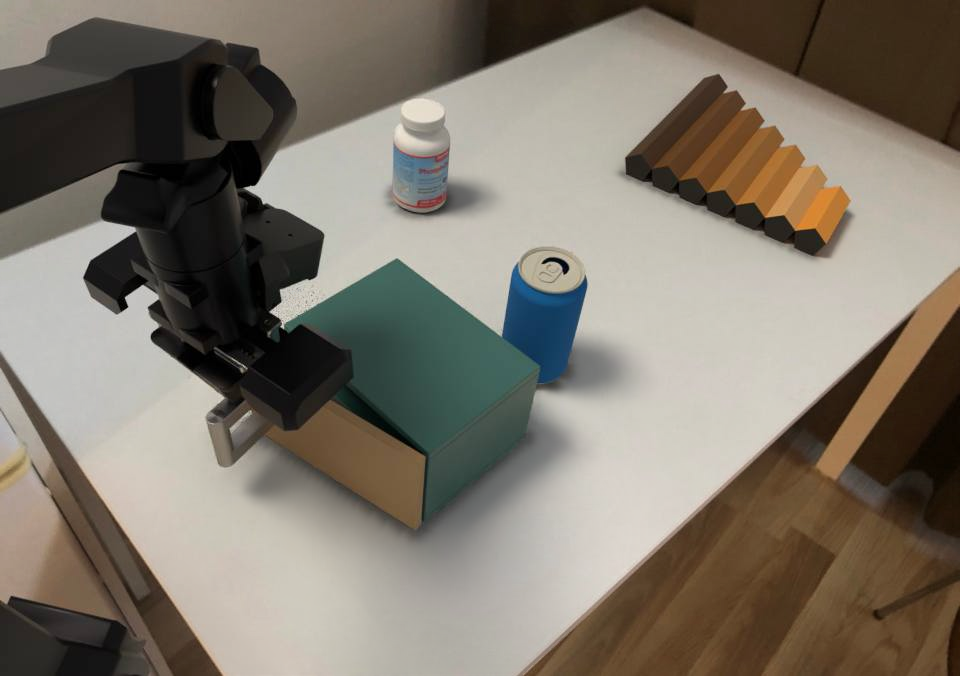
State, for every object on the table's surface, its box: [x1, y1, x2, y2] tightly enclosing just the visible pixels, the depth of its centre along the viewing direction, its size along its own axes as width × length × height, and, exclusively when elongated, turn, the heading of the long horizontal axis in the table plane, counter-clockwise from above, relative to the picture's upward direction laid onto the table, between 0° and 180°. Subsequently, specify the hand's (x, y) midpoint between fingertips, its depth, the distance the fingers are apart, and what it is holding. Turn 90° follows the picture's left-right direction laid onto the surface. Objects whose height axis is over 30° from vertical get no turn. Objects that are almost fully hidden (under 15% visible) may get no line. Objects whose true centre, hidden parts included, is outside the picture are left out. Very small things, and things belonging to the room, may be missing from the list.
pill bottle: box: [392, 98, 451, 214], centre depth 86 cm, size 6×6×11 cm
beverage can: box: [501, 245, 589, 385], centre depth 70 cm, size 6×6×12 cm
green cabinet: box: [283, 257, 540, 523], centre depth 66 cm, size 12×17×10 cm
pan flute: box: [624, 73, 852, 257], centre depth 99 cm, size 25×3×25 cm
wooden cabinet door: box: [205, 397, 425, 531], centre depth 59 cm, size 6×17×9 cm, turn 58°
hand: (236, 397), depth 58 cm, fingers closed, pressing on wooden cabinet door
